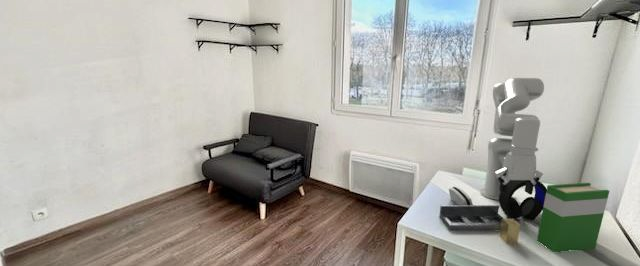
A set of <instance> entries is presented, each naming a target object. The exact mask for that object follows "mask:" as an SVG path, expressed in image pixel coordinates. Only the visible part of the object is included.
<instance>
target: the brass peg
mask: <svg viewBox="0 0 640 266" xmlns="http://www.w3.org/2000/svg"><path fill="white" fill-rule="evenodd" d="M520 228H521V224H520V223H519V222H518V221H517V220H516V221H515V220H514V219H510V218H504V219H502V222H501V228H500V231H499V234H498V235H499V237H500V238H501V240H503V241H504V242H505V243H507V244H508V243H510V244H511V243H512V244H513V243H515V244H517V243H518V240H519V239H518V238H519V234H520Z"/></svg>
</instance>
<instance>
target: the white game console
mask: <svg viewBox="0 0 640 266" xmlns="http://www.w3.org/2000/svg"><path fill="white" fill-rule="evenodd" d="M448 193H449V197H450V199H451V200H452V202H454V203H455V205H474V204H473V200H472V198H471V197H470V196H469V195H468V193H467V192H465V191H464V189H462V188H460V187H459V186H456V185H455V186H452V187H449V188H448Z"/></svg>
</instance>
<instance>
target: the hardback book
mask: <svg viewBox="0 0 640 266" xmlns="http://www.w3.org/2000/svg"><path fill="white" fill-rule="evenodd" d="M546 187H547V188H546V189H547V191H546V196H545V201H544V206H543V210H542V212H541V218H540V223H539V228H538V233H537V237H536V242H537V241H538V243H539V242H540V243H542V244H543V245H544V247H545V246H546V247H547V248H546V247H545V248H546V249H547V250H549V249H550V250H551V251H550V250H549V251H550V252H552V253H553V252H554V254H556V253H555V252H558V253H562V252H561V251H568V252H570V251H569V250H578V251H585V250H587V251H588V250H595V249H596V245H597V242H598V239H599V235H600V231H601V227H602V222H603V220H604V219H603V218H604V215H605V210H606V206H607V202H608V198H609V194H610V189H609V190H608V189H599V188H597V187H595V186H592V185H591V183H590V182H580V183H579V182H578V183H576V182H575V183H562V184H548V185H547V186H546ZM540 243H539V244H540ZM542 244H541V245H542ZM543 245H542V246H543Z"/></svg>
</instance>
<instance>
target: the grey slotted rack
mask: <svg viewBox="0 0 640 266" xmlns="http://www.w3.org/2000/svg"><path fill="white" fill-rule="evenodd" d="M499 209H500V206H499V205H497V204H495V205H489V204H487V205H486V204H485V205H483V204H482V205H481V204H479V205H476V204H475V205H474V204H473V205H457V204H453V205H452V204H449V205H448V204H444V205H443V204H440V206H439V216H438V218H440V220H441V221H442V222H443V224H444V226H445V227H446V228H447V229H448V230H449V231H459V232H461V231H469V232H470V231H472V232H473V231H478V232H479V231H480V232H482V231H485V232H488V231H489V232H492V231H494V232H496V231H495V230H500V228H501V222H502V219H505V218H504V217H503V216H502V215H500V214H499V211H500V210H499ZM475 220H478V221H477V222H471V221H475ZM493 220H494V222H492V221H493ZM452 221H458V222H452ZM497 221H498V222H497Z"/></svg>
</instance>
